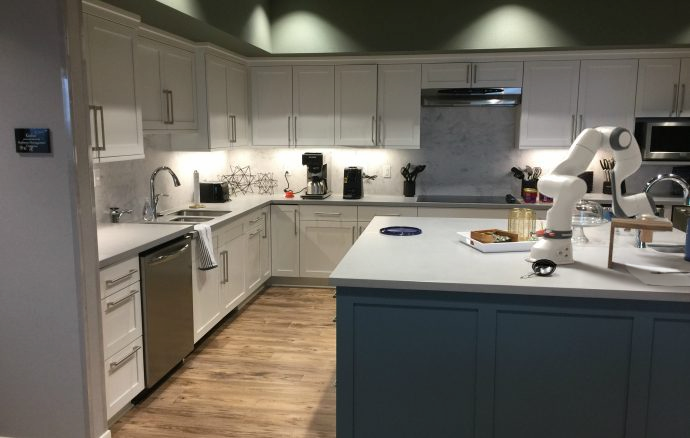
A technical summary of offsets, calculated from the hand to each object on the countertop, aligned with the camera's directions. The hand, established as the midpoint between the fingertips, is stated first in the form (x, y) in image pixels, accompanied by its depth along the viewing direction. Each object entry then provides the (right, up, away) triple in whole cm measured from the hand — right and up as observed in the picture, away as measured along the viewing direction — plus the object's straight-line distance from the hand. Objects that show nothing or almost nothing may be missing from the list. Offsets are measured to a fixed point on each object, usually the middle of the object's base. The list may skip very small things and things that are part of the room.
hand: (647, 227), depth 256 cm
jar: (0, -6, +2) cm, 7 cm away
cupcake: (-31, -9, +45) cm, 55 cm away
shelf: (-9, -17, -8) cm, 21 cm away
